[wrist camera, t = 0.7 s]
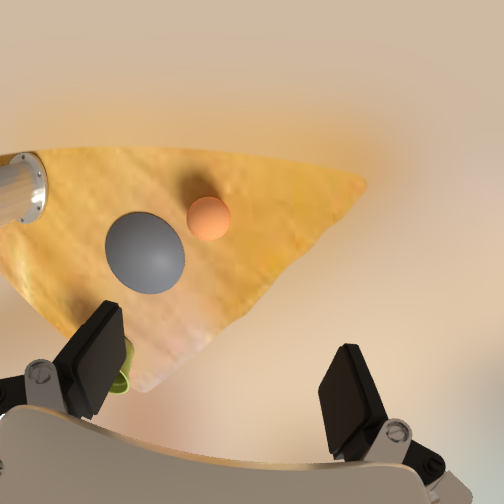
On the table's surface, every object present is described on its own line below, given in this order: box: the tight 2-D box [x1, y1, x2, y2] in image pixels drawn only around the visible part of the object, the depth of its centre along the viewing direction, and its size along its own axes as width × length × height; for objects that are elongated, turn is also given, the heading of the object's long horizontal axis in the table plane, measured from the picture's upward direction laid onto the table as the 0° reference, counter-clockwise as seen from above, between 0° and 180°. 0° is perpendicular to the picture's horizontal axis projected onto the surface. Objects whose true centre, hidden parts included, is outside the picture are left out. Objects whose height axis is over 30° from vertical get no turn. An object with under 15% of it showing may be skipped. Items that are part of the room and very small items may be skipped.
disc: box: [105, 213, 185, 294], centre depth 38 cm, size 13×13×1 cm
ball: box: [187, 197, 230, 241], centre depth 34 cm, size 6×6×6 cm
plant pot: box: [108, 338, 134, 394], centre depth 41 cm, size 9×9×9 cm
